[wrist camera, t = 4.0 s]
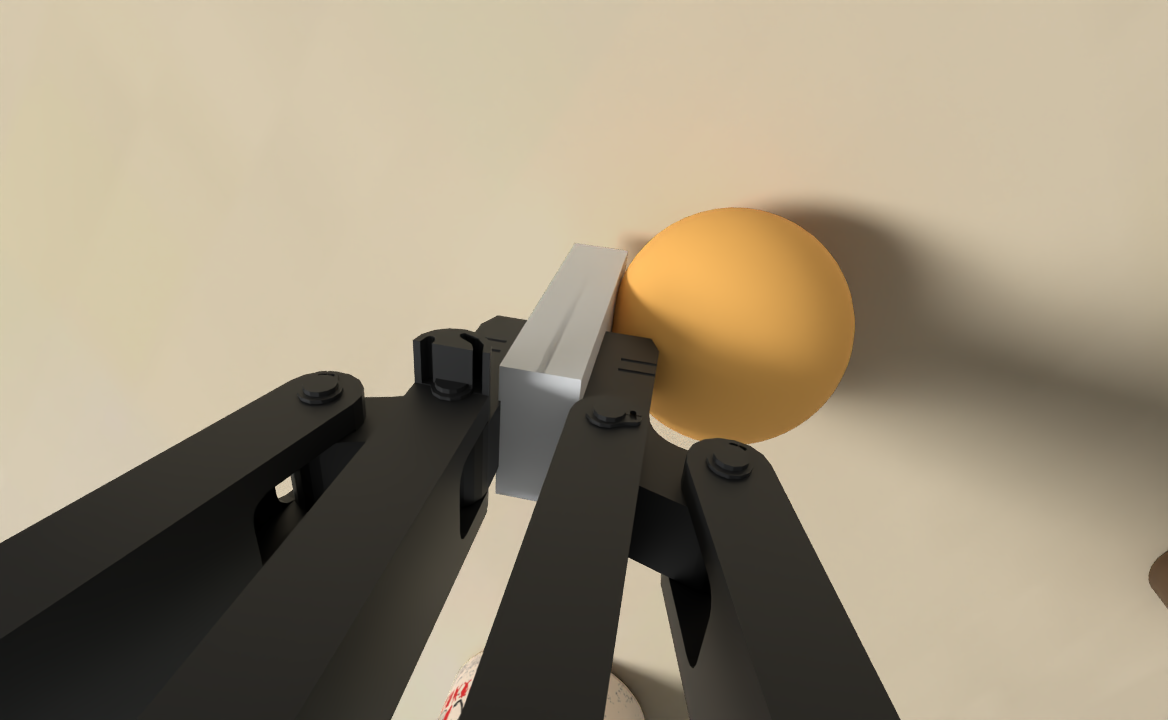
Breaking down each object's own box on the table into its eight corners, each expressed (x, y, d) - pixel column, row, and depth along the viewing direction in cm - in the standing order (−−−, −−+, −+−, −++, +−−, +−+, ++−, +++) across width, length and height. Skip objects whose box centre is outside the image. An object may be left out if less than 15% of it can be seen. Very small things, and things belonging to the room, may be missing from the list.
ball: (829, 193, 16) (947, 271, 11) (774, 376, 19) (850, 502, 14) (618, 170, 16) (648, 242, 11) (591, 362, 18) (606, 488, 14)
